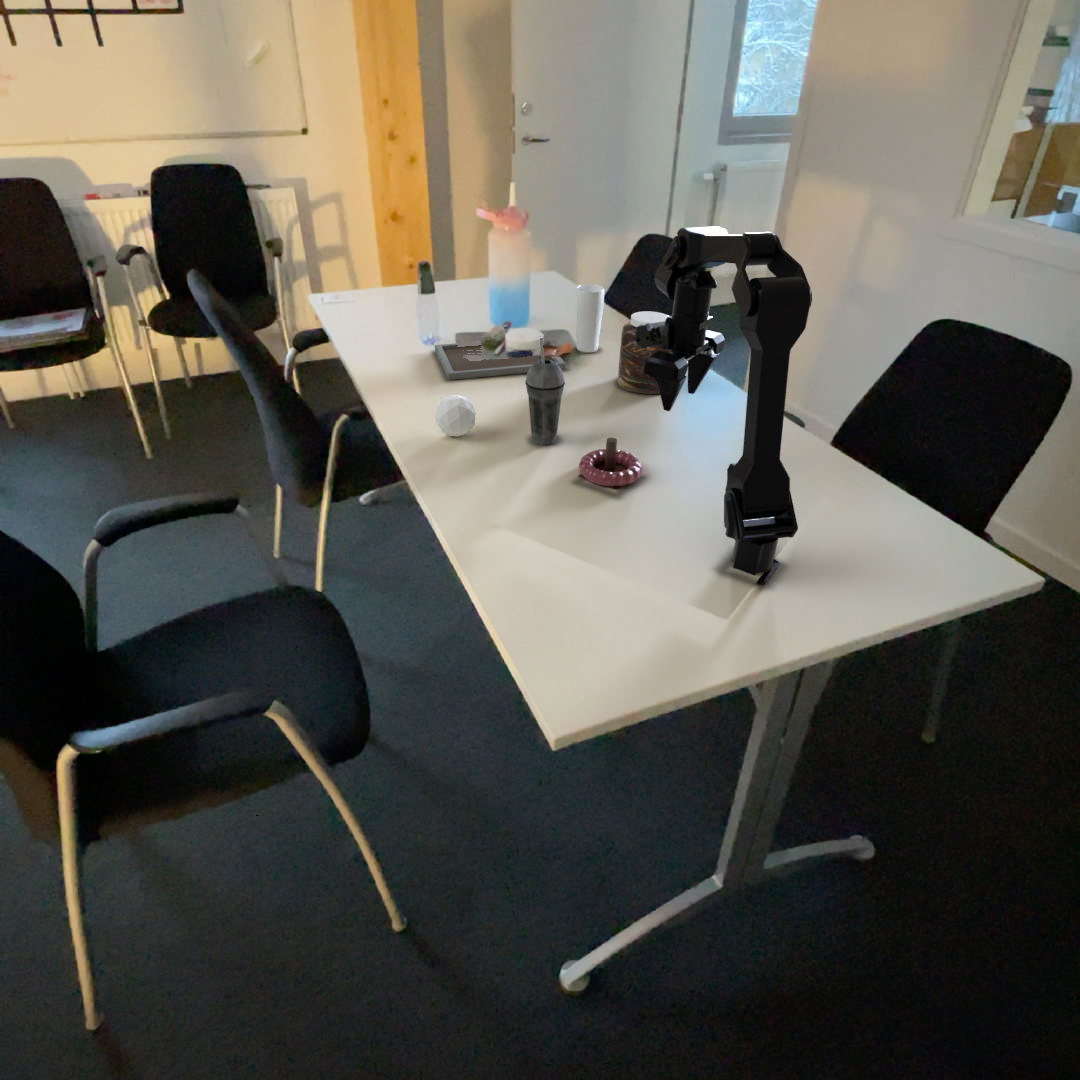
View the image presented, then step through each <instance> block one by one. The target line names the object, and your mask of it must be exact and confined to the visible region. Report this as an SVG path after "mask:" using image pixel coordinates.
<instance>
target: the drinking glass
mask: <svg viewBox="0 0 1080 1080" xmlns="http://www.w3.org/2000/svg"><path fill="white" fill-rule="evenodd" d="M574 303H575V304H574V306H575V308H574V309H575V331H576V345H575V346H576V350H577V351H578V352H579V353H586V354H591V353H595V352H597V351H598V349H599V342H600V341H599V340H600V333H601V327H602V320H603V319H602V318H603V313H604V307H605V288H604V286H602V285H600V284H593V283H585V284H579V285H577V286H576V287H575V302H574Z"/></svg>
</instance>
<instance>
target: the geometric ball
mask: <svg viewBox="0 0 1080 1080" xmlns="http://www.w3.org/2000/svg"><path fill="white" fill-rule="evenodd" d="M476 416H477V412H476V409H475V407H474V404H473V403H472V402H471V401H470V400H469V399H468V398H467V397H466V396H464V395H458V394H450V395H448V396H446V397H444V398H441V400H440V402H439V403H438V404H437V405H436V408H435V414H434V420H435V422H436V425H437V427H438V428H439V429H440V430H441V432H443V433H444V434H445V435H446V436H451V437H456V438H460V437H462V436H463V435H466V434H468V433H470V432H471V430H472V429H473V428H474V427H475V425H476Z"/></svg>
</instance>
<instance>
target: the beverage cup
mask: <svg viewBox="0 0 1080 1080" xmlns="http://www.w3.org/2000/svg"><path fill="white" fill-rule="evenodd" d="M540 346H541V360H540V361H538V362H536V363H534V364H533V365H532V366H531V367H530V369H529V371H528V373H526V377H525V382H524V383H525V385H526V388H525V389H526V393H527V396H528V409H529V420H530V421H529V422H530V433H531V439H532V440H531V441H532V442H533V443H534V444H536V445H540V446H550V445H552V444H554V443H555V442H556V440H557V435H558V428H559V420H560V412H561V403H562V395H563V393H564V388H565V385H566V381H565V376H564V375H565V374H564V371H563V370H561V368H560V367H559V366H558V365H557V364H556V363H555V362H553V361H551V360H544V348H543V338H540Z"/></svg>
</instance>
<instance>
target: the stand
mask: <svg viewBox="0 0 1080 1080" xmlns="http://www.w3.org/2000/svg"><path fill="white" fill-rule="evenodd" d="M605 441H606V442H605V443H606V444H605V449H606V454H605V463H600V464H596V465H594V467H595V468H596V469H599V470H602V471H607V472H620V471H624V470H626V469H628V468H627V467H625V466H624V465H620V464H617V463H616V450H618V449H617V447H618V439H617V438H615V437H607V438H606V440H605ZM577 478H581V479H584V480H586V481H588V480H587V479H586V478H585V477H583V476H582V474H581V473H580V474H579V475H577ZM624 486H625V485H623V486H605V487H607V488H609V489H612V490H616V491H619V490H620V489H621V488H623V487H624Z"/></svg>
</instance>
